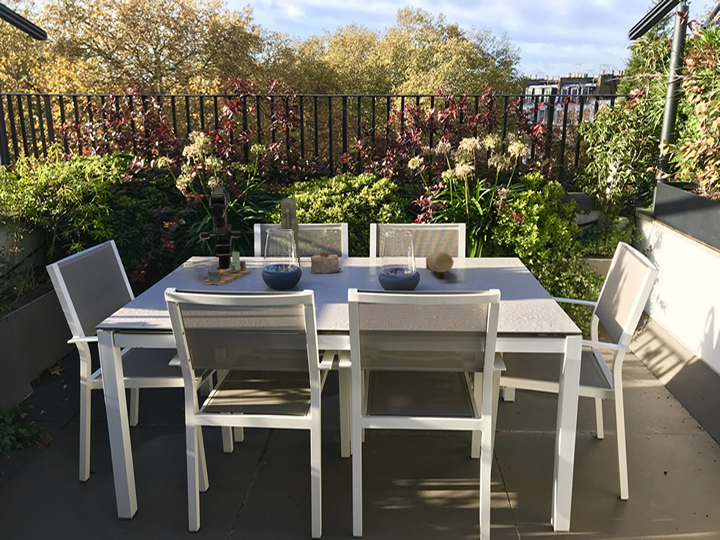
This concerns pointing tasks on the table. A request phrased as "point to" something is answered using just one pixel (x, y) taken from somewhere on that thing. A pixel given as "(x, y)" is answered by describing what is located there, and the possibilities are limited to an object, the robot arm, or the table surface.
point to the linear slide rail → (227, 275)
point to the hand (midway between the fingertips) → (221, 252)
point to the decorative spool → (439, 262)
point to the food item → (324, 263)
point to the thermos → (290, 219)
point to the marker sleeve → (235, 261)
